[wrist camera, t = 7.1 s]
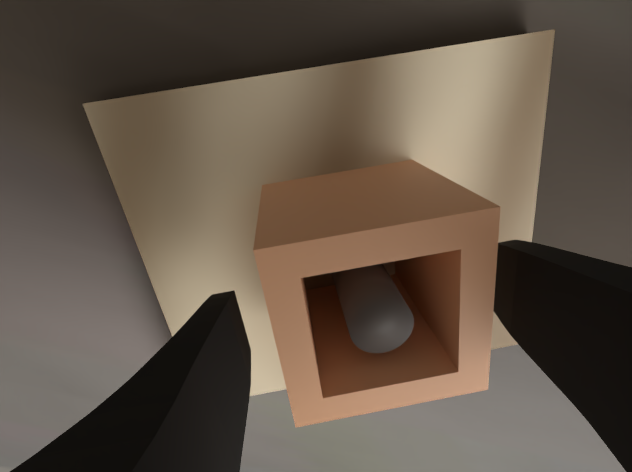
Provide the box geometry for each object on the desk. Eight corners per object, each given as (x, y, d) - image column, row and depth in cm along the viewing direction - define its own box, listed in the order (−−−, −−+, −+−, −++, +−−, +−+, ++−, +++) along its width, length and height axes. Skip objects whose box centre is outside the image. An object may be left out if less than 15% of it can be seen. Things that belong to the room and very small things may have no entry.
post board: (528, 34, 12) (734, -8, 6) (504, 326, 16) (610, 438, 11) (101, 102, 11) (-53, 115, 6) (204, 383, 16) (169, 529, 11)
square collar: (412, 159, 12) (500, 207, 7) (416, 288, 14) (488, 389, 9) (262, 185, 11) (252, 250, 7) (288, 311, 13) (296, 427, 9)
